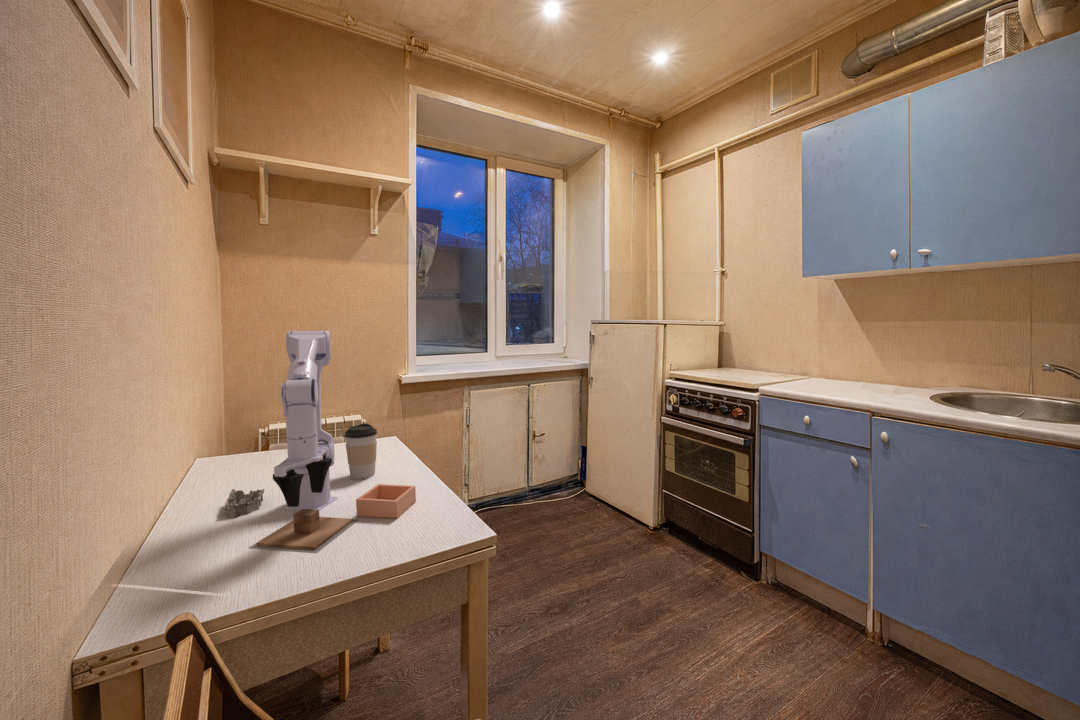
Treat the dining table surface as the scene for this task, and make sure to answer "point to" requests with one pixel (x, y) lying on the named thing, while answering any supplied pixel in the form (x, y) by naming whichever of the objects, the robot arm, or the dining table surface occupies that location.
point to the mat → (305, 549)
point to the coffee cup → (361, 450)
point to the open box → (386, 501)
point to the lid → (305, 531)
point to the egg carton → (243, 502)
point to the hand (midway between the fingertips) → (305, 498)
